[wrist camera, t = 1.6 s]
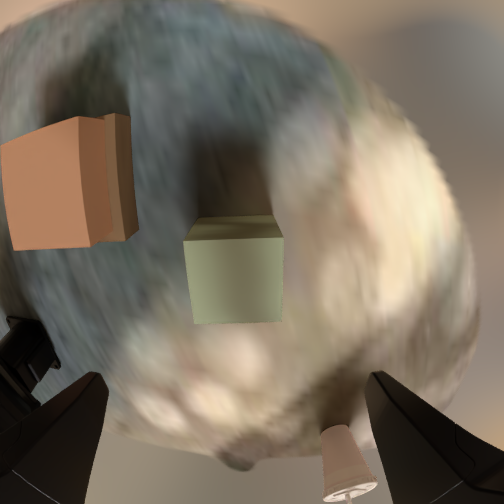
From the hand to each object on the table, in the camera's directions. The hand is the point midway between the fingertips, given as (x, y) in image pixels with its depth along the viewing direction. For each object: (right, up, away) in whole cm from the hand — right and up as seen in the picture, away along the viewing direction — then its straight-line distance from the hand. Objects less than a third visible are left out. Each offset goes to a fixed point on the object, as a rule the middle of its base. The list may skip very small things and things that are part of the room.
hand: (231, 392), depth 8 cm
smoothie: (+11, -19, +21) cm, 30 cm away
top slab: (-12, +9, +7) cm, 16 cm away
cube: (0, +4, +11) cm, 12 cm away
